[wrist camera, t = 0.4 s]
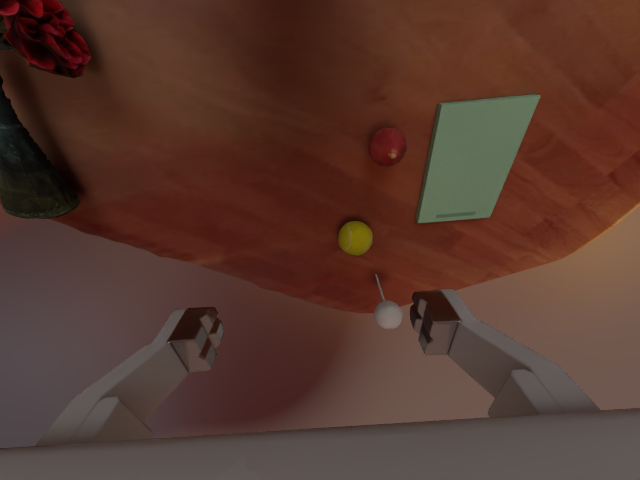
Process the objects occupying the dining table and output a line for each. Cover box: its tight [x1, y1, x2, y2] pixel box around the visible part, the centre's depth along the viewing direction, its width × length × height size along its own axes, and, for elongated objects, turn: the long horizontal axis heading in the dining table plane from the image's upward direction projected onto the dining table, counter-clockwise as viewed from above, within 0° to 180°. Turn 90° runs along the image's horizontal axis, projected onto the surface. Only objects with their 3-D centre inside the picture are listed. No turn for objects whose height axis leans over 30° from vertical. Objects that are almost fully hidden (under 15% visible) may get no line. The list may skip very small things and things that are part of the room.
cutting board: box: [416, 94, 541, 223], centre depth 44 cm, size 22×15×2 cm
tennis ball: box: [338, 221, 373, 255], centre depth 49 cm, size 7×7×7 cm
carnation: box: [0, 0, 91, 219], centre depth 32 cm, size 16×18×35 cm
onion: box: [369, 127, 407, 166], centre depth 38 cm, size 6×6×8 cm
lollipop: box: [374, 274, 402, 329], centre depth 55 cm, size 6×6×15 cm
